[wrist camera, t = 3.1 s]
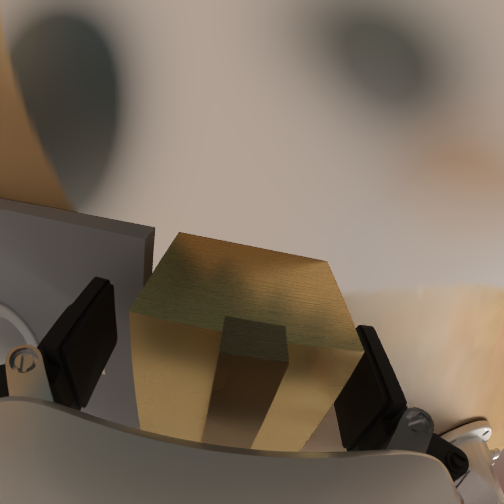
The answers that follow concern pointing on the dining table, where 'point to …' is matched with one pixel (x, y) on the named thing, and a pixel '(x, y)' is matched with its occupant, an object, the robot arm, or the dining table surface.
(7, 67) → the dining table surface
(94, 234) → the post base
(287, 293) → the tan boxy piece
